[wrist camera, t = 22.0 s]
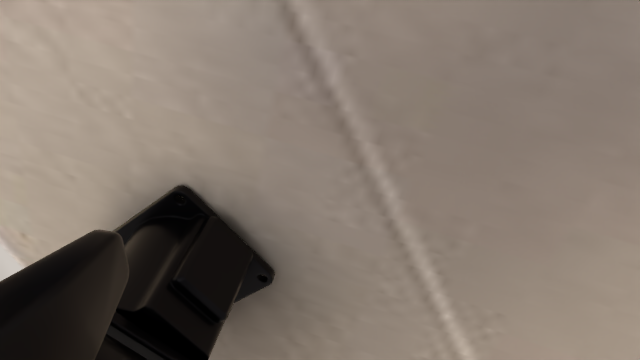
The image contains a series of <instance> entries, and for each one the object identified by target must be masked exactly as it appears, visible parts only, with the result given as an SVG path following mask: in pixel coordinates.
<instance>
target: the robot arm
mask: <svg viewBox="0 0 640 360" xmlns="http://www.w3.org/2000/svg"><path fill="white" fill-rule="evenodd" d="M179 196H182V197H184V199H182V198H180V197H179ZM261 274H262V275H261ZM263 275H265V276H263ZM274 275H275V274H274V271H273V269H272V268H271V267H270V266H269V265H268V264H267V263H266V262H265V261H263V260H262V259H261V258H260V257H259V256H258V255H257V254H256V253H255V252H254V251H253V250H252V249H251V248H250V247H249V246H248V245H247V244H246V243H245V242H244V241H243V240H242V239H241V238H240V237H239V236H238V235H237V234H235V233H234V232H233V231H232V230H231V229H230V228H229V227H228V226H227V225H226V224H225V223H224V222H223V221H222V220H221V219H220V218H219V217H218V216H217V215H216V214H215V213H214V212H213V211H212V210H211V209H210V208H209V207H207V206H206V205H205V204H204V203H203V202H202V201H201V200H200V199H199V198H198V197H197V196H196V195H195V194H194V193H193V192H192V191H191V190H190V189H188V188H187V187H184V186H177V187H175V188H173V189H172V190H171V191H169V192H168V193H166V194H165V195H164V196H162V197H161V198H159V199H158V200H157V201H155V202H154V203H152V204H151V205H149V206H148V207H147V208H145V209H144V210H142V211H141V212H140V213H138V214H137V215H135V216H134V217H133V218H131V219H130V220H128V221H127V222H126V223H124V224H123V225H121V226H120V227H118V228H117V229H116V230H114V231H113V232H111V231H104V230H94V231H92V232H90V233H88V234H86V235H84V236H83V237H81V238H79V239H77V240H75V241H73V242H72V243H70V244H68V245H66V246H64V247H62V248H61V249H59V250H57V251H55V252H53V253H51V254H50V255H48V256H46V257H44V258H42V259H41V260H39V261H37V262H35V263H33V264H31V265H30V266H28V267H26V268H24V269H22V270H21V271H19V272H17V273H15V274H13V275H11V276H10V277H8V278H6V279H4V280H2V281H1V282H0V360H208V359H209V357H210V354H211V352H212V350H213V347H214V345H215V343H216V340H217V338H218V336H219V333H220V331H221V329H222V326H223V324H224V322H225V320H226V318H227V317H228V315H229V312H230V310H231V307H232V305H233V303H235V302H237V301H239V300H241V299H243V298H245V297H246V296H248V295H250V294H252V293H254V292H256V291H258V290H260V289H262V288H264V287H266V286H268V285H270V284H271V283H272V281H273V278H274Z"/></svg>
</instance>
